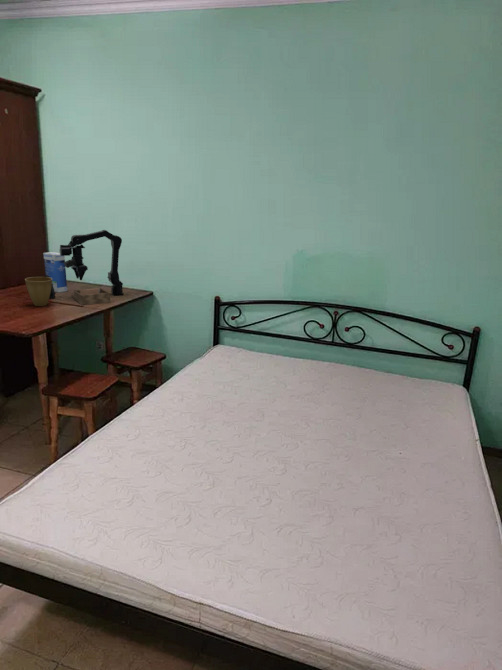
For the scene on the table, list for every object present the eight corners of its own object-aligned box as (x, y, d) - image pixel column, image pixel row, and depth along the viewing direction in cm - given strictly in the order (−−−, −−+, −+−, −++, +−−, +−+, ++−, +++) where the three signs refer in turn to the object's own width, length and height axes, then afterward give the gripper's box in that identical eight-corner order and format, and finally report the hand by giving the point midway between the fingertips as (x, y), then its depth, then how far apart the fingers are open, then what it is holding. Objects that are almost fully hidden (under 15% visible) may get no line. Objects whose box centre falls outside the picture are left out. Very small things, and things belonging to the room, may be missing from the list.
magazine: (58, 296, 299) (46, 275, 295) (40, 304, 301) (28, 283, 296) (60, 295, 303) (48, 274, 299) (42, 303, 304) (30, 282, 300)
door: (99, 296, 310) (99, 288, 308) (100, 297, 309) (99, 288, 307) (80, 298, 302) (80, 290, 301) (81, 298, 302) (80, 290, 300)
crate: (101, 297, 311) (101, 288, 309) (110, 302, 298) (110, 292, 297) (74, 299, 300) (73, 290, 298) (82, 305, 288) (81, 295, 286)
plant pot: (28, 308, 275) (25, 281, 270) (27, 302, 288) (24, 277, 283) (55, 306, 282) (53, 280, 277) (53, 301, 294) (50, 276, 290)
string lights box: (67, 291, 323) (65, 253, 315) (58, 292, 317) (55, 254, 309) (55, 288, 330) (52, 251, 322) (46, 290, 323) (42, 252, 316)
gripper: (60, 254, 302) (62, 277, 306) (69, 257, 288) (70, 282, 292) (77, 253, 308) (79, 276, 313) (87, 257, 294) (88, 281, 299)
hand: (79, 279), depth 304 cm, fingers open, 6 cm apart
